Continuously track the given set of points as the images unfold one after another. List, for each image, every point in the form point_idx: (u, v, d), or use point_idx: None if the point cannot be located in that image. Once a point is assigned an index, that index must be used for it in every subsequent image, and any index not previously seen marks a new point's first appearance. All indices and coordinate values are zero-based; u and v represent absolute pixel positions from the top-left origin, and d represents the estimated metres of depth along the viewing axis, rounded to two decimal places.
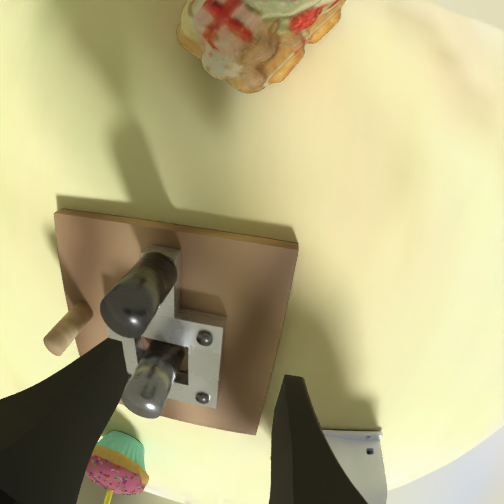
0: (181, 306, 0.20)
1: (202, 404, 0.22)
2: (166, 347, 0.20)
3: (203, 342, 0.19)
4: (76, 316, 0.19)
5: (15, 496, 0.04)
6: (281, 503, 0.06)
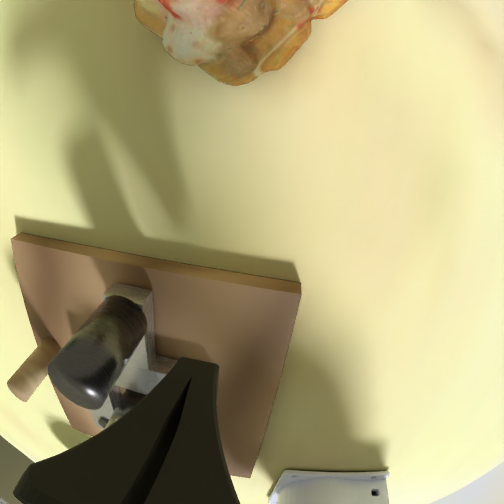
0: (158, 353, 0.16)
1: None
2: (143, 397, 0.16)
3: None
4: (42, 356, 0.15)
5: None
6: None
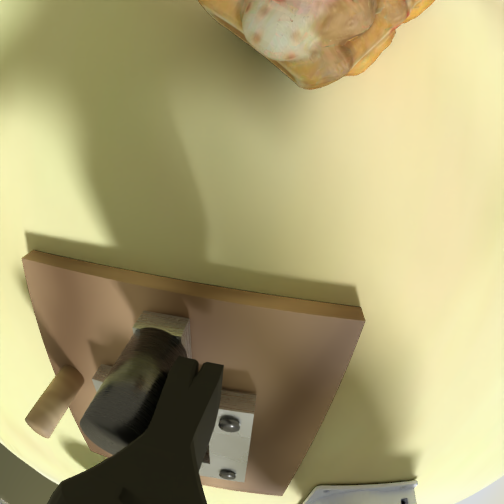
0: None
1: (227, 478, 0.16)
2: None
3: (228, 428, 0.13)
4: (62, 388, 0.14)
5: None
6: None
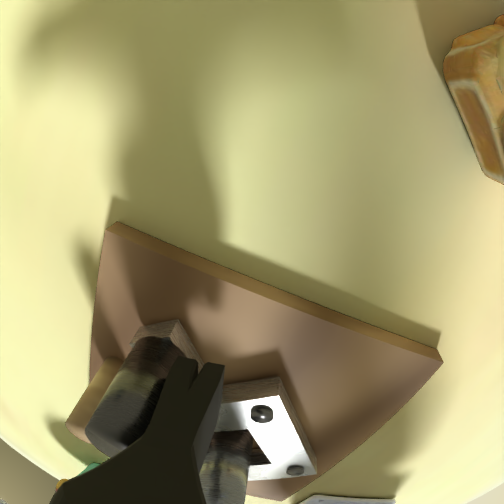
0: None
1: (298, 475, 0.15)
2: (242, 439, 0.14)
3: (262, 419, 0.13)
4: None
5: None
6: None
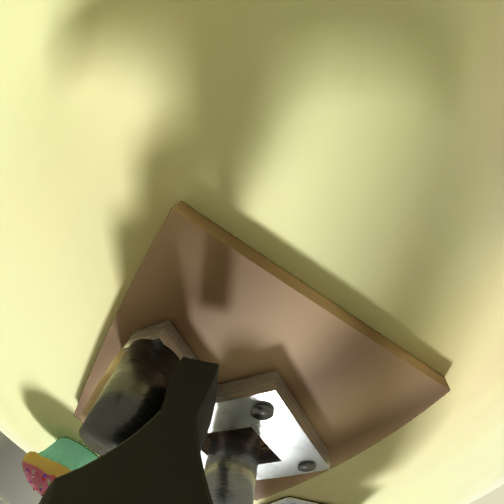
0: (299, 405, 0.14)
1: (311, 470, 0.15)
2: (254, 441, 0.14)
3: (263, 416, 0.12)
4: None
5: None
6: None
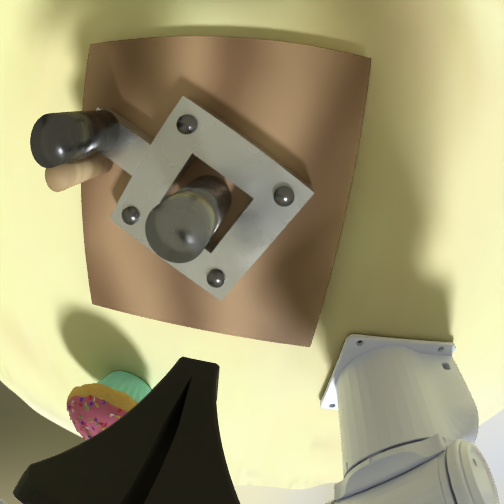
0: None
1: (297, 206, 0.15)
2: (211, 181, 0.16)
3: (189, 127, 0.14)
4: None
5: None
6: None
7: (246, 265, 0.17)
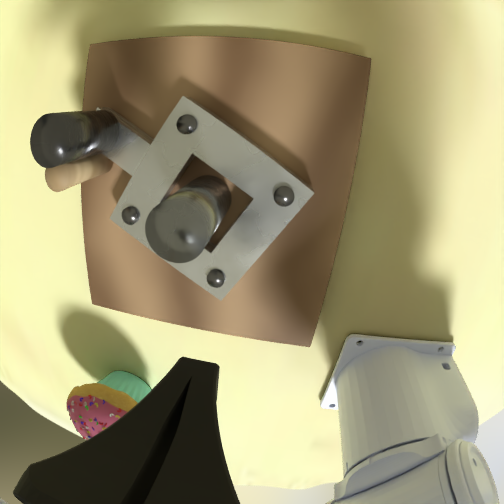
0: None
1: (297, 206, 0.15)
2: (211, 181, 0.16)
3: (189, 127, 0.14)
4: None
5: None
6: None
7: (246, 265, 0.17)
